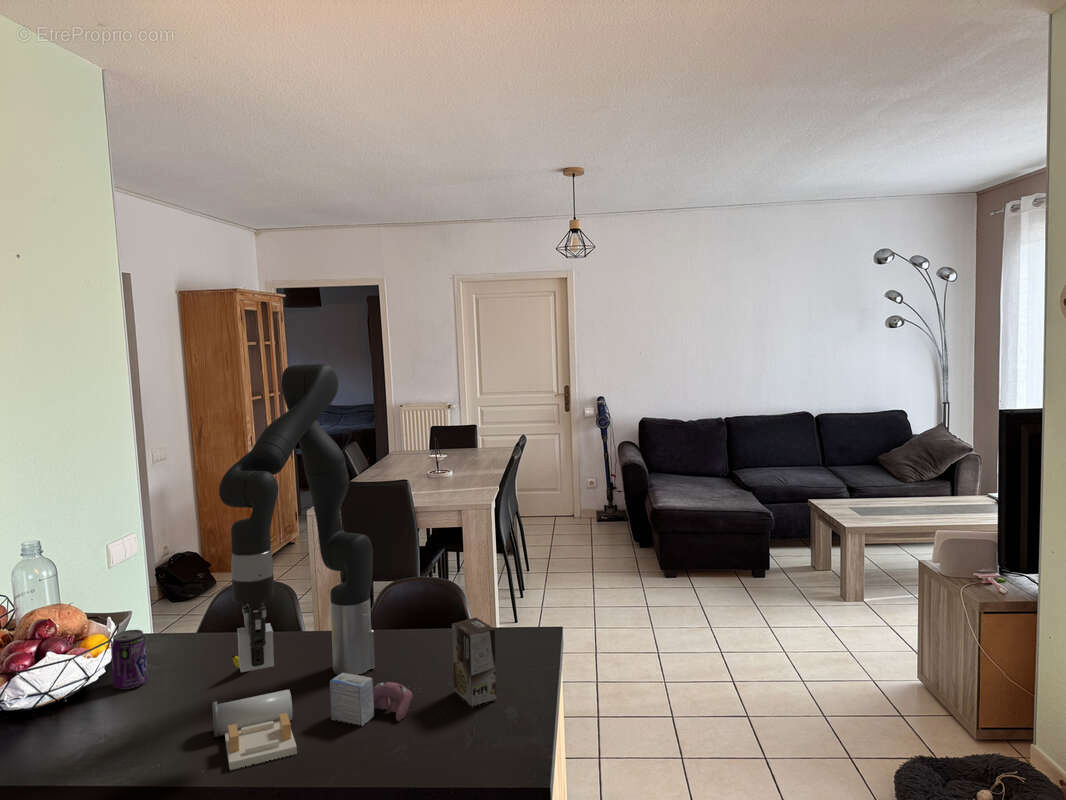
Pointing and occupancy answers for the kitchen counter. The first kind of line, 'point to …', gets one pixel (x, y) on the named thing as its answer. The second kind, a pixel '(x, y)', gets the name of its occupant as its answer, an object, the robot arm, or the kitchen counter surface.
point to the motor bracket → (256, 728)
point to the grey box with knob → (245, 649)
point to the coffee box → (474, 661)
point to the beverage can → (129, 659)
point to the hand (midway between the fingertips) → (256, 659)
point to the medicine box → (352, 698)
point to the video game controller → (395, 691)
